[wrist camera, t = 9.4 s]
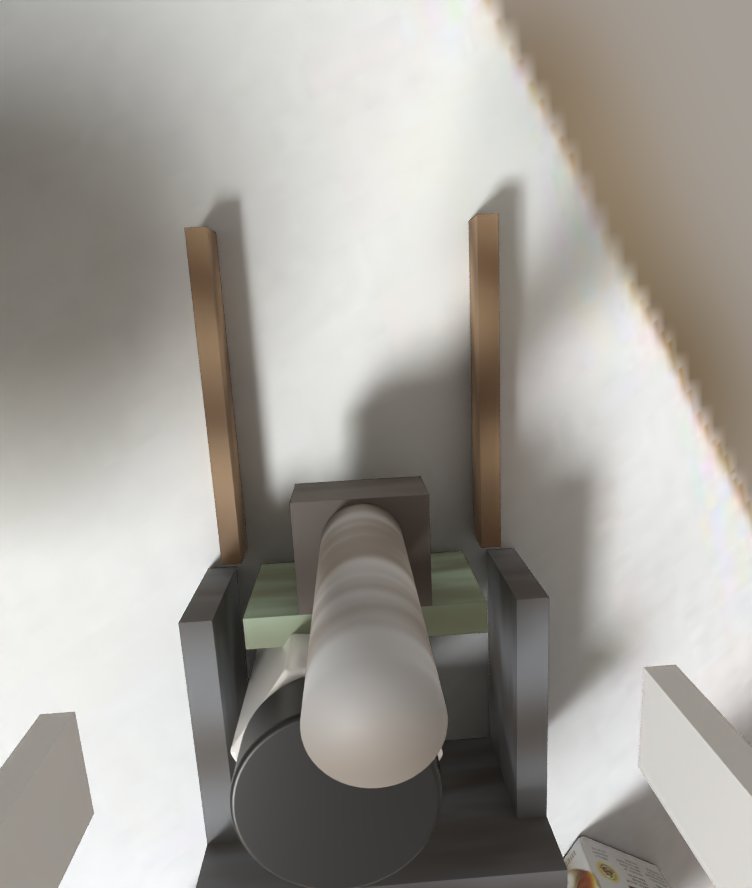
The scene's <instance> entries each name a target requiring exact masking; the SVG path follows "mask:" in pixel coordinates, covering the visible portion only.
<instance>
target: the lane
mask: <svg viewBox="0 0 752 888" xmlns="http://www.w3.org/2000/svg"><path fill="white" fill-rule="evenodd" d="M185 237H186V246H187V255H188V264H189V273H190V282H191V291H192V300H193V309H194V318H195V327H196V336H197V345H198V354H199V363H200V372H201V381H202V390H203V399H204V408H205V417H206V426H207V435H208V444H209V453H210V462H211V471H212V480H213V489H214V498H215V507H216V516H217V525H218V534H219V543H220V552H221V561H222V565H227V564H241V563H242V561H243V559H244V556H245V554H246V552H247V549H248V547H247V537H246V528H245V518H244V508H243V498H242V488H241V478H240V468H239V458H238V448H237V438H236V428H235V419H234V409H233V399H232V389H231V379H230V369H229V359H228V349H227V339H226V329H225V319H224V310H223V300H222V290H221V280H220V270H219V260H218V250H217V240H216V232H214V231H212V230H211V229H209V228H208V227H191V228H185ZM469 267H470V329H471V391H472V453H473V515H474V535H475V537H476V539H477V541H478V542H479V544H480V546H481V547H482V548H486V547H501V525H500V364H499V214H479V215H476V216H475V217H473V218H472V219H471V220H470V221H469ZM487 561H488V651H489V737H488V738H475V739H462V740H449V741H444V743H443V745H442V751H443V755H442V758H441V759H440V760H439V763H440V769H441V773H440V778H441V784H442V804H441V811H440V815H439V819H438V822H437V825H436V827H435V829H434V831H433V834H432V835H431V837H430V839H429V840H428V842H427V843H426V845H425V846H424V847H423V849H422V850H421V851H420V852H419V853H418V855H417V856H416V857H415V858H414V859H413V860H411V861H410V862H409V863H408V864H407V865H406V866H404V867H403V868H402V869H400V870H399V871H397V872H395V873H394V874H392V875H390V876H388V877H386V878H384V879H382V880H380V881H377V882H375V883H372V884H369V885H366V886H361V887H357V888H567V880H568V869H567V867H566V864H565V862H564V859H563V857H562V854H561V852H560V849H559V847H558V844H557V842H556V839H555V837H554V834H553V832H552V829H551V827H550V824H549V822H548V819H547V817H546V809H547V727H548V645H549V597H548V595H547V594H546V593H545V591H544V590H543V588H542V587H541V586H540V584H539V583H538V581H537V580H536V579H535V577H534V576H533V574H532V573H531V572H530V570H529V569H528V567H527V566H526V565H525V563H524V562H523V560H522V559H521V558H520V556H519V555H518V554H517V552H516V551H515V549H498V550H487ZM179 630H180V638H181V646H182V653H183V661H184V669H185V676H186V684H187V692H188V699H189V707H190V715H191V722H192V730H193V738H194V745H195V753H196V761H197V768H198V776H199V784H200V791H201V799H202V807H203V814H204V822H205V830H206V837H207V848H206V852H205V855H204V859H203V863H202V867H201V871H200V875H199V878H198V882H197V886H196V888H308V887H304V886H300V885H297V884H294V883H291V882H288V881H286V880H284V879H282V878H280V877H278V876H276V875H274V874H273V873H271V872H269V871H268V870H267V869H265V868H264V867H262V866H261V865H260V864H259V863H258V862H257V861H256V860H255V859H254V858H253V857H252V856H251V855H250V854H249V853H248V851H247V850H246V849H245V847H244V846H243V844H242V843H241V841H240V839H239V837H238V835H237V833H236V831H235V828H234V825H233V823H232V818H231V814H230V804H229V801H230V787H231V782H232V778H233V774H234V769H235V765H236V761H235V760H234V758H233V757H232V755H231V746H232V743H233V739H234V735H235V731H236V728H237V724H238V720H239V716H240V713H241V709H242V705H243V701H244V698H245V694H246V690H247V687H248V678H247V669H246V659H245V650H244V640H243V631H242V622H241V612H240V603H239V593H238V584H237V574H236V567H224V568H209V569H208V570H207V572H206V574H205V575H204V577H203V579H202V581H201V583H200V585H199V586H198V588H197V590H196V592H195V594H194V596H193V597H192V599H191V601H190V603H189V605H188V607H187V608H186V610H185V612H184V614H183V616H182V618H181V619H180V621H179Z"/></svg>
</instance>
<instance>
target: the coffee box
mask: <svg viewBox="0 0 752 888" xmlns="http://www.w3.org/2000/svg"><path fill="white" fill-rule="evenodd" d="M564 862H565V864H566V867H567V869H568V880H567V888H669V886H668V884H667V883H666V881H665V879H664V877H663V875H662V873H661V872H660V870H659V868H658V867H657V866H655V865H653V864H650V863H648V862H645V861H643V860H641V859H638V858H636V857H633V856H631V855H629V854H626V853H624V852H621V851H619V850H616V849H614V848H612V847H609V846H607V845H604V844H602V843H599V842H597V841H594V840H592V839H590V838H587V837H580V838H578V839H577V841H576V842H575V843H574V845H573V846H572V848H571V849H570V851H569V852H568V853H567V855H566V856H565V858H564Z"/></svg>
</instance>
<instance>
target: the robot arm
mask: <svg viewBox="0 0 752 888" xmlns="http://www.w3.org/2000/svg"><path fill="white" fill-rule="evenodd" d="M638 768H639V769H640V771H641V772H642V774H643V776H644V777H645V779H646V780H647V782H648V783H649V785H650V787H651V788H652V790H653V791H654V793H655V794H656V796H657V797H658V799H659V801H660V802H661V804H662V805H663V807H664V808H665V810H666V811H667V813H668V815H669V816H670V818H671V819H672V821H673V822H674V824H675V826H676V827H677V829H678V830H679V832H680V833H681V835H682V836H683V838H684V840H685V841H686V843H687V844H688V846H689V847H690V849H691V850H692V852H693V854H694V855H695V857H696V858H697V860H698V861H699V863H700V864H701V866H702V868H703V869H704V871H705V872H706V874H707V875H708V877H709V879H710V880H711V882H712V883H713V885H714V886H715V888H752V747H751V745H750V744H749V743H748V742H747V741H746V740H745V739H744V738H743V737H742V736H741V735H740V734H739V733H738V731H737V730H736V729H735V728H734V727H733V726H732V725H731V724H730V723H729V722H728V721H727V720H726V719H725V717H724V716H723V715H722V714H721V713H720V712H719V711H718V710H717V709H716V708H715V707H714V706H713V704H712V703H711V702H710V701H709V700H708V699H707V698H706V697H705V696H704V695H703V694H702V693H701V692H700V690H699V689H698V688H697V687H696V686H695V685H694V684H693V683H692V682H691V681H690V680H689V679H688V678H687V676H686V675H685V674H684V673H683V672H682V671H681V670H680V669H679V668H678V667H677V666H676V665H665V666H653V667H644V673H643V689H642V706H641V723H640V739H639V756H638ZM93 814H94V811H93V806H92V800H91V795H90V790H89V784H88V779H87V774H86V769H85V763H84V758H83V753H82V747H81V742H80V737H79V731H78V726H77V721H76V715H75V712H65V713H53V714H40V715H39V717H38V718H37V719H36V721H35V722H34V724H33V725H32V726H31V728H30V729H29V730H28V732H27V733H26V734H25V736H24V737H23V739H22V740H21V741H20V743H19V744H18V745H17V747H16V748H15V749H14V751H13V752H12V754H11V755H10V756H9V758H8V759H7V760H6V762H5V763H4V764H3V766H2V767H1V769H0V888H58V886H59V884H60V882H61V880H62V878H63V876H64V874H65V872H66V870H67V868H68V866H69V864H70V862H71V860H72V858H73V856H74V853H75V851H76V849H77V847H78V845H79V843H80V841H81V839H82V837H83V835H84V833H85V831H86V829H87V827H88V825H89V823H90V820H91V818H92V816H93Z"/></svg>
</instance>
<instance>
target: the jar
mask: <svg viewBox="0 0 752 888" xmlns="http://www.w3.org/2000/svg"><path fill="white" fill-rule="evenodd" d="M309 639H310V634H292V635H291V636H290V637H289V638H288V640H287V641H286V643H285V644H284V646H283V647H273V648H259V649H257V653H256V657H255V660H254V664H253V668H252V672H251V675H250V679H249V683H248V687H247V690H246V694H245V698H244V701H243V705H242V709H241V713H240V716H239V720H238V724H237V728H236V731H235V735H234V739H233V743H232V746H231V755H232V757H233V758H234V760H235V761H236V765H235V769H234V774H233V778H232V782H231V787H230V801H229V804H230V814H231V818H232V823H233V825H234V828H235V831H236V833H237V835H238V837H239V839H240V841H241V843H242V844H243V846H244V847H245V849H246V850H247V851H248V853H249V854H250V855H251V856H252V857H253V858H254V859H255V860H256V861H257V862H258V863H259V864H260V865H261V866H262V867H264V868H265V869H267V870H268V871H269V872H271V873H273V874H274V875H276V876H278V877H280V878H282V879H284V880H286V881H288V882H291V883H294V884H297V885H300V886H304V887H308V888H357V887H361V886H366V885H369V884H372V883H375V882H377V881H380V880H382V879H384V878H386V877H388V876H390V875H392V874H394V873H395V872H397V871H399V870H400V869H402V868H403V867H404V866H406V865H407V864H408V863H409V862H410V861H411V860H413V859H414V858H415V857H416V856H417V855H418V853H419V852H420V851H421V850H422V849H423V847H424V846H425V845H426V843H427V842H428V840H429V839H430V837H431V835H432V834H433V831H434V829H435V827H436V825H437V822H438V819H439V815H440V811H441V804H442V784H441V778H440V773H441V769H440V763H439V760H440V759H441V758H442V755H443V751H442V747H441V749H440V751H439V753H438V754H437V756H436V757H435V759H434V760H433V761H432V762H431V763H430V764H429V765H428V766H427V767H426V768H425V769H424V770H423V771H422V772H420V773H419V774H417V775H416V776H414V777H412V778H410V779H409V780H407V781H404V782H402V783H399V784H396V785H392V786H388V787H382V788H360V787H355V786H350V785H347V784H344V783H341V782H339V781H337V780H335V779H333V778H331V777H330V776H328V775H327V774H325V773H324V772H323V771H322V770H320V769H319V768H318V767H317V766H316V765H315V763H314V762H313V761H312V760H311V758H310V757H309V755H308V754H307V752H306V750H305V747H304V745H303V742H302V738H301V732H300V718H301V709H302V701H303V692H304V683H305V674H306V666H307V657H308V648H309Z"/></svg>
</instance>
